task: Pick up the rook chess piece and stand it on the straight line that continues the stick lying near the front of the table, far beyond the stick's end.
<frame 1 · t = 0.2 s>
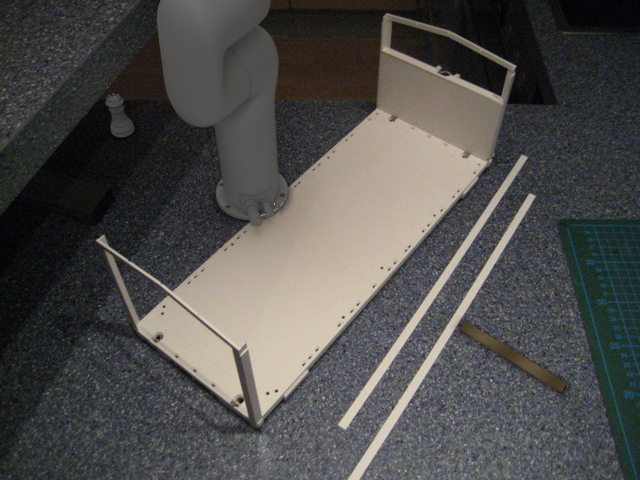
rook chess piece: (123, 132, 120), on the countertop
stick: (510, 356, 89), on the countertop
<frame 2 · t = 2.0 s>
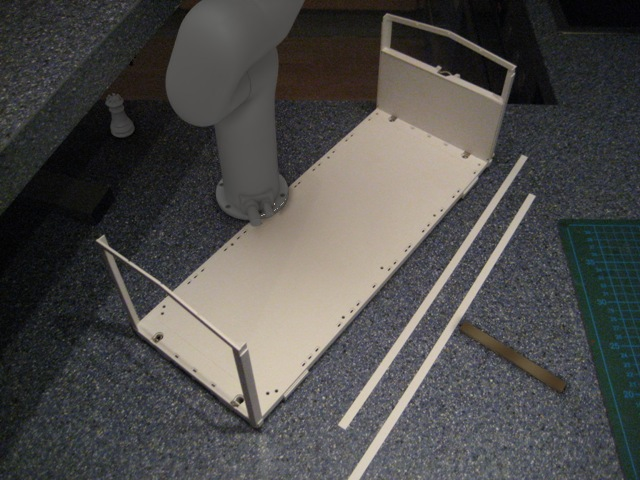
hand: (102, 65, 109), 14 cm above the countertop, tool pointing down, fingers open, 9 cm apart
nothing on the countertop moved.
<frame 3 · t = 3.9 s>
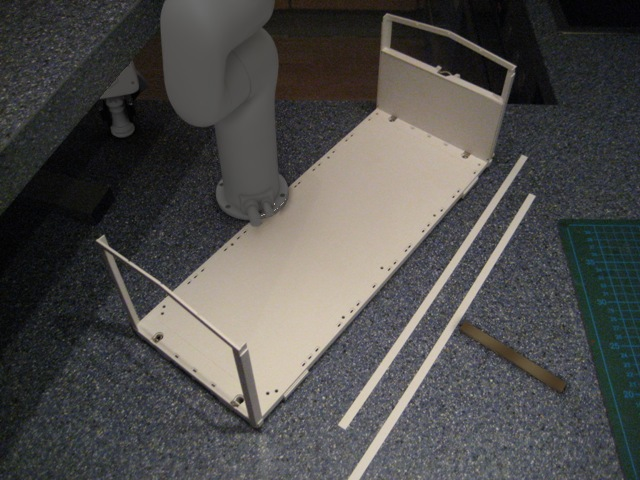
hand: (120, 119, 118), 3 cm above the countertop, tool pointing down, fingers closed on rook chess piece, 3 cm apart
rook chess piece: (123, 132, 120), on the countertop, touching gripper
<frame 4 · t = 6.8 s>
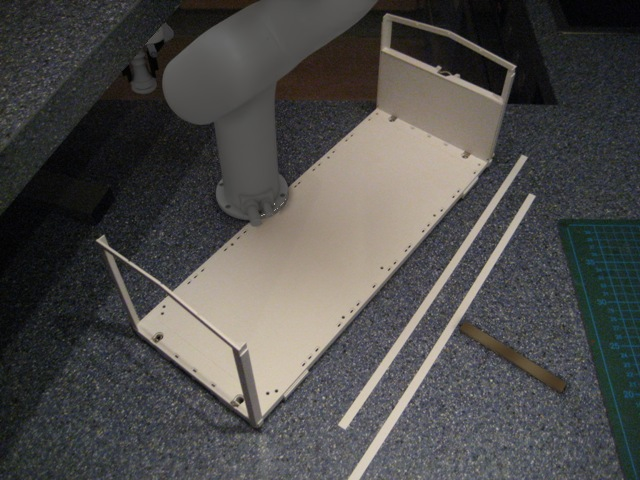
hand: (141, 74, 108), 14 cm above the countertop, tool pointing down, fingers closed on rook chess piece, 3 cm apart
rook chess piece: (145, 89, 110), point 11 cm above the countertop, touching gripper
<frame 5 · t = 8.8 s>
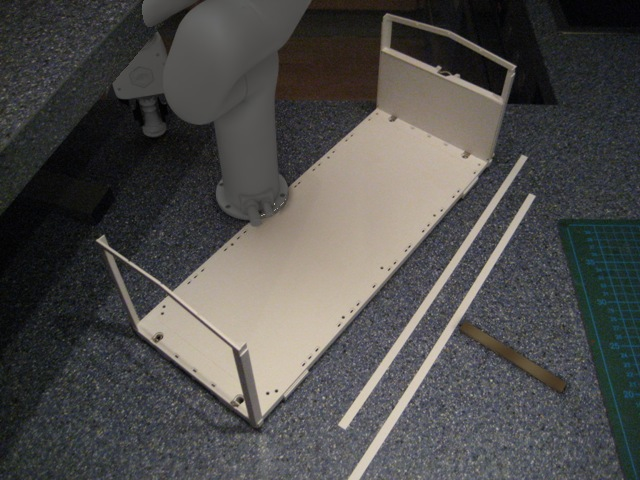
hand: (152, 119, 116), 4 cm above the countertop, tool pointing down, fingers closed on rook chess piece, 3 cm apart
rook chess piece: (155, 131, 118), point 2 cm above the countertop, touching gripper
when the fingers open (3 cm above the countertop, at t = 9.7 s): rook chess piece stays where it is, on the countertop.
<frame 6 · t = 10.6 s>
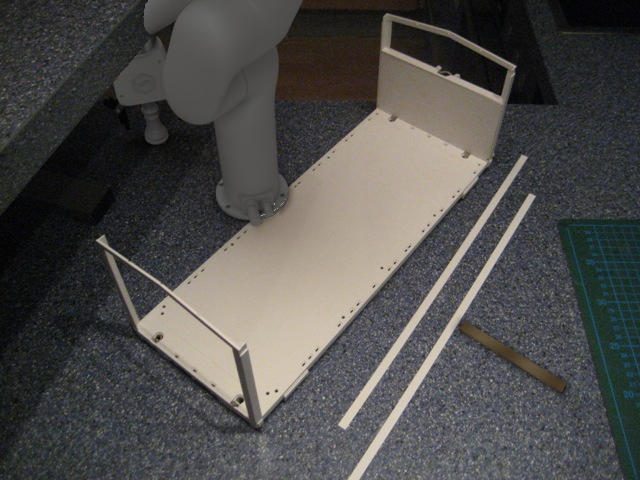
hand: (154, 121, 116), 4 cm above the countertop, tool pointing down, fingers open, 9 cm apart
rook chess piece: (157, 139, 119), on the countertop
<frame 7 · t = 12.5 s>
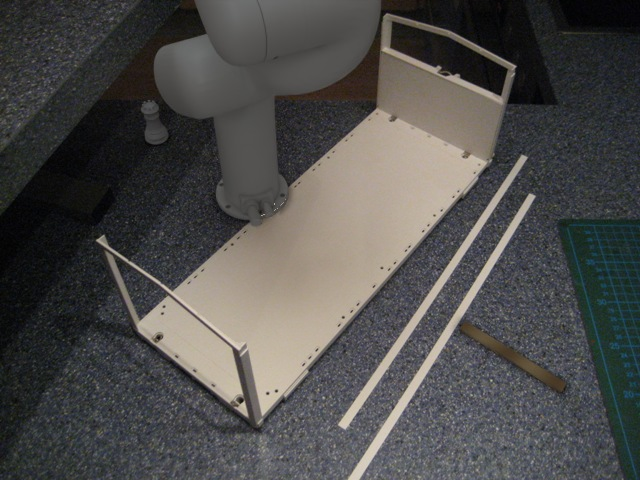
nothing on the countertop moved.
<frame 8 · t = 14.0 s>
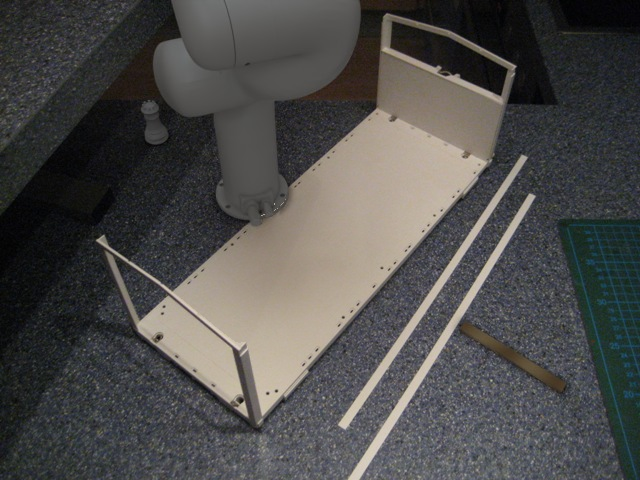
nothing on the countertop moved.
at the end: rook chess piece 0.1 cm from the target spot on the countertop beside the stick, on the countertop; rook chess piece tilted 0° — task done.
